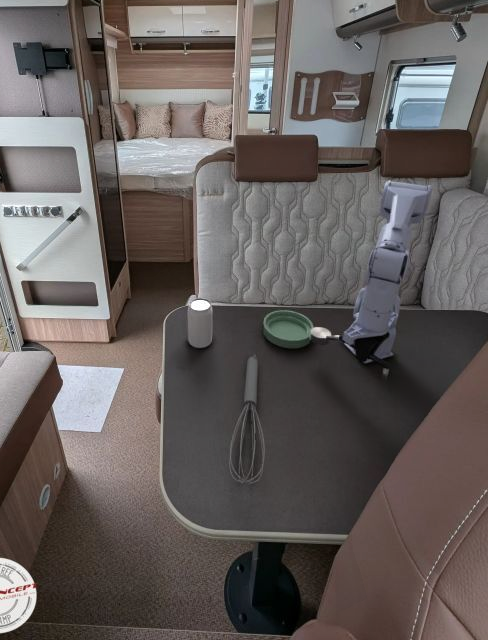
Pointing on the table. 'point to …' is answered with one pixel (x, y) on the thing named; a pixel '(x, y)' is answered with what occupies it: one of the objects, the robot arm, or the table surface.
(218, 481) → the table surface
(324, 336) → the ladle
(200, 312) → the can
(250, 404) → the kitchen whisk
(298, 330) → the bowl
